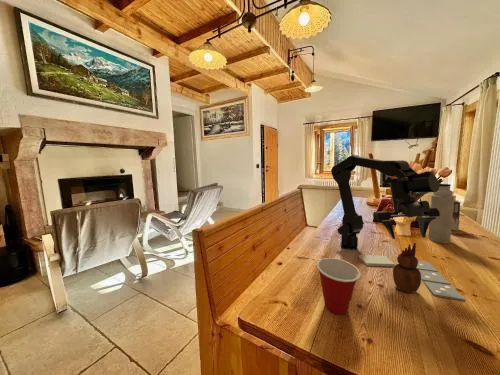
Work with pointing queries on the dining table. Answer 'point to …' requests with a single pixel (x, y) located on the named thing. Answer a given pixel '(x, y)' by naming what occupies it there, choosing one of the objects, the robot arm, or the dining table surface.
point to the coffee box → (455, 216)
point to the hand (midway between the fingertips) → (408, 238)
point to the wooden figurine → (407, 271)
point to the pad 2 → (433, 277)
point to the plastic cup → (337, 283)
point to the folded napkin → (376, 260)
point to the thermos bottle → (442, 214)
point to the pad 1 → (425, 266)
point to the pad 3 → (444, 291)
